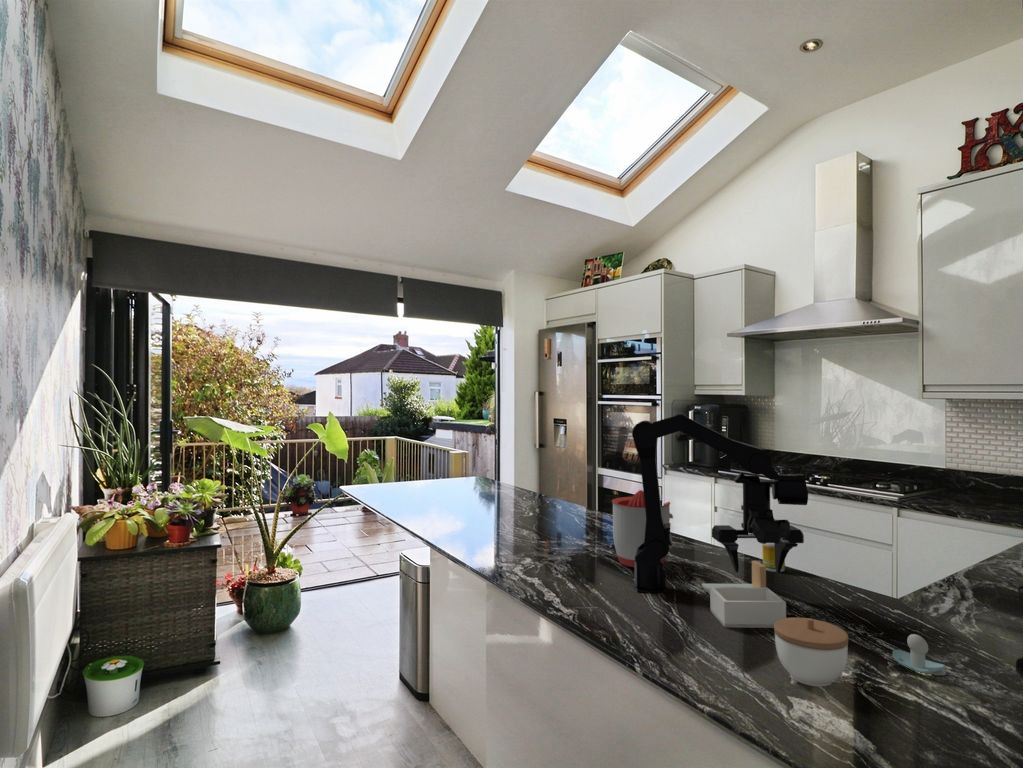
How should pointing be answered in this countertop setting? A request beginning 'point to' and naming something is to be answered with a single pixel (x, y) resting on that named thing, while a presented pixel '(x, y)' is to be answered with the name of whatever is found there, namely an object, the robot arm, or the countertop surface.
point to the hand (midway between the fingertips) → (757, 572)
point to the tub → (746, 606)
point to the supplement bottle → (770, 557)
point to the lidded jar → (811, 650)
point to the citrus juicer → (632, 525)
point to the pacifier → (918, 657)
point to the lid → (757, 581)
